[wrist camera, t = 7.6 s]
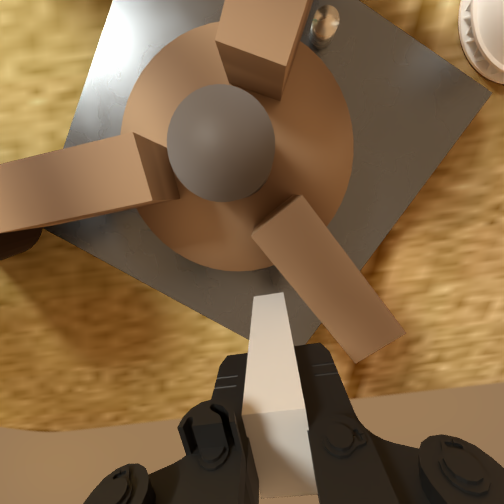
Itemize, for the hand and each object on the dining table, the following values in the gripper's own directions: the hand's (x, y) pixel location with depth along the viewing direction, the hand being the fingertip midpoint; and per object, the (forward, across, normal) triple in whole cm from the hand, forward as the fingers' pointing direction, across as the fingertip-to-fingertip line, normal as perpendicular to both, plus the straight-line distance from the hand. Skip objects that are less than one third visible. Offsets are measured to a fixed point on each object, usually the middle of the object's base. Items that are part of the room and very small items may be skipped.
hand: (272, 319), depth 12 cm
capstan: (+3, 0, +6) cm, 7 cm away
